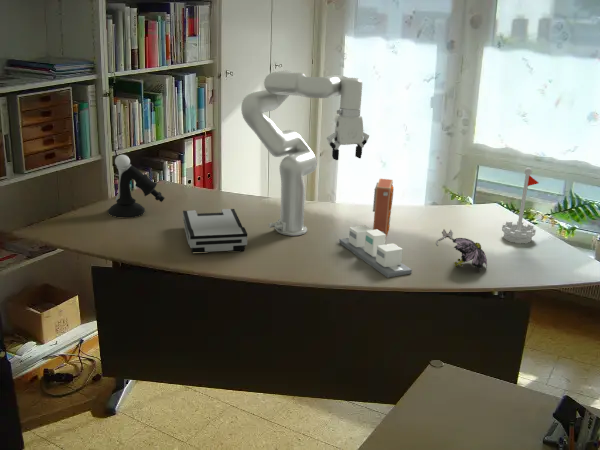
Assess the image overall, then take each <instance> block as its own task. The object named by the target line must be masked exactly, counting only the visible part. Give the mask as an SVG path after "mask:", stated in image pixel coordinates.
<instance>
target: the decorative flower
mask: <svg viewBox="0 0 600 450" xmlns="http://www.w3.org/2000/svg"><path fill="white" fill-rule="evenodd" d="M452 243H453V244H456V245H455V246H454V247H453V249H455V250H456V251H458V252H459V253H461V256H460V258H457V261H455V262H453V264H454V267H455V268H458V265H459V267H463V263H465V262H469V261H471V260H472V263H471V266H473V267H475V269H478V268H479V272H481V270H482V267H483V265H485V268H486V269H487V268H488V267H487V266H488V259H487V255H486V253H485V251H484V250H483V249H482V245H481V243H479V242H475V241H473V240H472V239H469V238H466V237H456V238H453V240H452ZM457 243H459V244H457Z"/></svg>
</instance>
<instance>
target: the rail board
mask: <svg viewBox="0 0 600 450" xmlns="http://www.w3.org/2000/svg"><path fill="white" fill-rule="evenodd" d="M347 238H348V237H347ZM347 238H339V240H338V241H339V244H340V245H342V246H343V247H345V248H346V249H347V250H349V251H350V252H351V253H353V254H354V255H355V256H357V257H358V258H359V259H361V260H363V261H364V262H365V263H367V265H369V266H371V267H372V268H373V269H375V270H376V271H378V272H379V273H381V274H382V275H383V276H385V277H386V279H387V278H393V277H399V276H403V275H404V276H405V275H409V274H412V273H413V270H412V268H410V267H409V266H407V265H406V264H404V263H403V262H401V265H397V266H399V267H400V268H402V269H403V270H402V271H396V272H395V271H393V270H392V269H390V268H389V267H383V266H382V265H381V264H379V263H378V262H376V258H374V257H372V256H371V255H369V254H368V253H367V252H365V251H364V250H363V249H362V248H360V247H355V246H354V245H352V244H351V243H349V239H347Z"/></svg>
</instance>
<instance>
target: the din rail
mask: <svg viewBox="0 0 600 450" xmlns="http://www.w3.org/2000/svg"><path fill="white" fill-rule="evenodd" d="M347 239H349V237H347ZM364 247H365V246H363V247H360V248H362V249H363V250H364ZM374 258H376V256H374ZM389 268H390V269H392V270H393V271H395V272H396V271H402V270H403V269H402V268H400V267H399V266H397V265H396V266H390V267H389Z"/></svg>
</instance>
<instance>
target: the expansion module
mask: <svg viewBox="0 0 600 450" xmlns="http://www.w3.org/2000/svg"><path fill="white" fill-rule="evenodd" d="M386 240H387V236H386V234H384V233H383V232H381V231H379V230H378V229H376V230H373V229H372V230H368V231H366V235H365V247H364V251H365V252H367V253H368V254H369V255H371V256H372V257H374V256H376V253H377V246H378V245H385V244H386Z"/></svg>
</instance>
